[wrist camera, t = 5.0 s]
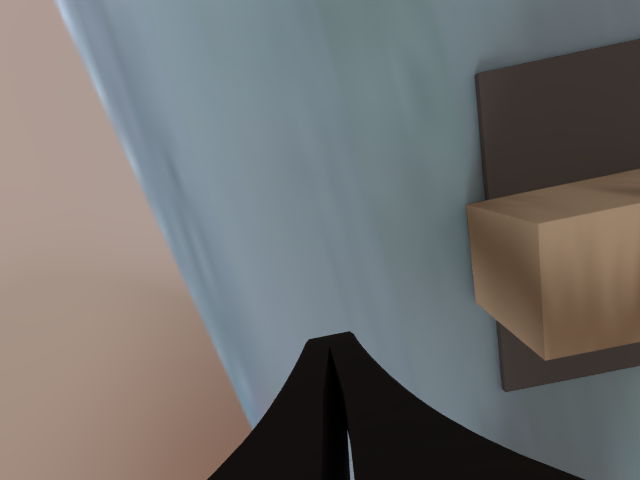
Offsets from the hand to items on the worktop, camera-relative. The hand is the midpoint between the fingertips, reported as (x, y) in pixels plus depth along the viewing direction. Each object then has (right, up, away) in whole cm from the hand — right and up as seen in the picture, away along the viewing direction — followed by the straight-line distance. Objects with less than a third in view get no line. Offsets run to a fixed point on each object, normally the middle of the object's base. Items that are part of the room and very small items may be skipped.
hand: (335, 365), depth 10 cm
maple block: (+7, +2, +4) cm, 8 cm away
